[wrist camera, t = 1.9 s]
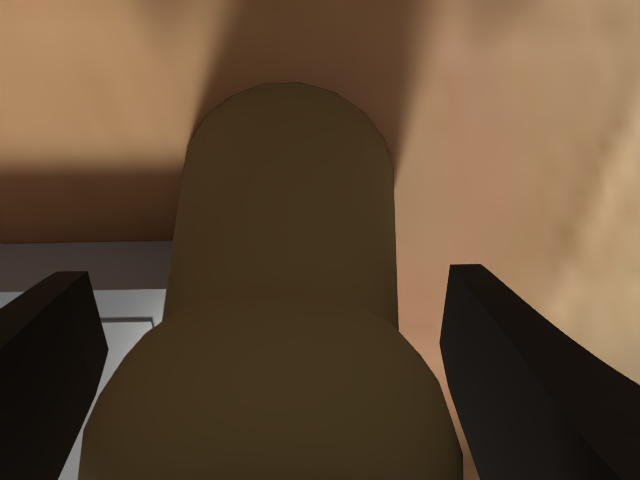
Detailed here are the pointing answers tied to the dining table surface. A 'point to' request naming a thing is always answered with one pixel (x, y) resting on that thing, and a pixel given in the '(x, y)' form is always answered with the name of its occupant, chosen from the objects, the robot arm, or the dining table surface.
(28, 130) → the dining table surface
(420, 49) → the dining table surface
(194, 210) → the olive bowling pin
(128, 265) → the grey flat square block
